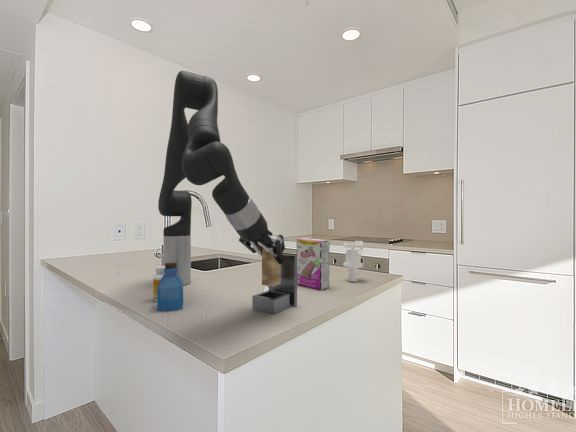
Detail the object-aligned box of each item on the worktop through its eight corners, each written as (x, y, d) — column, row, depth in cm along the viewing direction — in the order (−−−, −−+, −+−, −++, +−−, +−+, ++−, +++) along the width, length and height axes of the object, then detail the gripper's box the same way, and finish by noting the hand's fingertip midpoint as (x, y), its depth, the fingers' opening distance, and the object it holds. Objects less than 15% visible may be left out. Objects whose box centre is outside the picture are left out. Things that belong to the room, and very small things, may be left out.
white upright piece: (362, 283, 114) (362, 242, 113) (342, 282, 115) (343, 241, 115) (362, 279, 121) (362, 240, 120) (343, 278, 122) (344, 239, 122)
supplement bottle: (165, 302, 90) (165, 268, 90) (149, 301, 92) (149, 268, 91) (176, 297, 96) (176, 265, 95) (160, 296, 97) (160, 264, 97)
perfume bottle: (157, 311, 83) (157, 265, 82) (159, 304, 89) (159, 262, 88) (182, 309, 84) (182, 264, 84) (183, 303, 90) (183, 261, 90)
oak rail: (261, 284, 85) (261, 235, 85) (270, 282, 88) (270, 235, 88) (272, 286, 83) (272, 236, 83) (280, 283, 86) (281, 235, 86)
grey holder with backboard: (249, 308, 85) (249, 256, 85) (271, 300, 93) (271, 252, 93) (276, 314, 80) (276, 259, 80) (297, 305, 88) (297, 255, 88)
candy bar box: (295, 285, 112) (295, 238, 111) (304, 282, 115) (305, 237, 115) (321, 290, 104) (321, 240, 103) (330, 288, 107) (330, 239, 107)
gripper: (275, 206, 75) (302, 252, 85) (232, 207, 83) (262, 248, 93) (261, 230, 71) (291, 275, 81) (217, 228, 79) (250, 269, 89)
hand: (275, 261), depth 87 cm, fingers closed on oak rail, 3 cm apart
